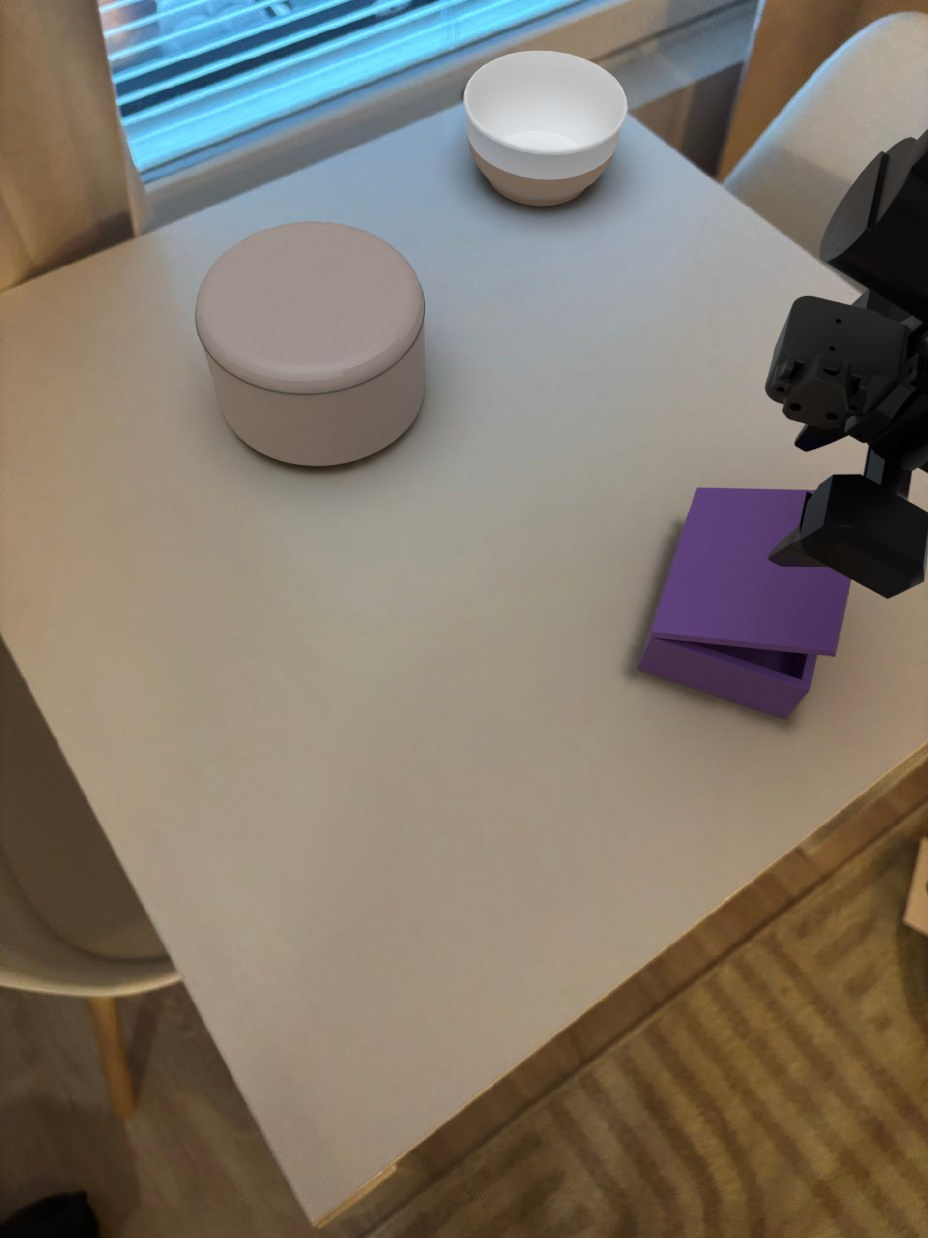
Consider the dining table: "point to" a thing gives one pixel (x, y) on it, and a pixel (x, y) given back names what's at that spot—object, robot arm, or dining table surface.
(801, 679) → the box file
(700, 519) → the lid
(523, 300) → the dining table surface
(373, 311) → the container
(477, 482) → the dining table surface
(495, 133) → the bowl
